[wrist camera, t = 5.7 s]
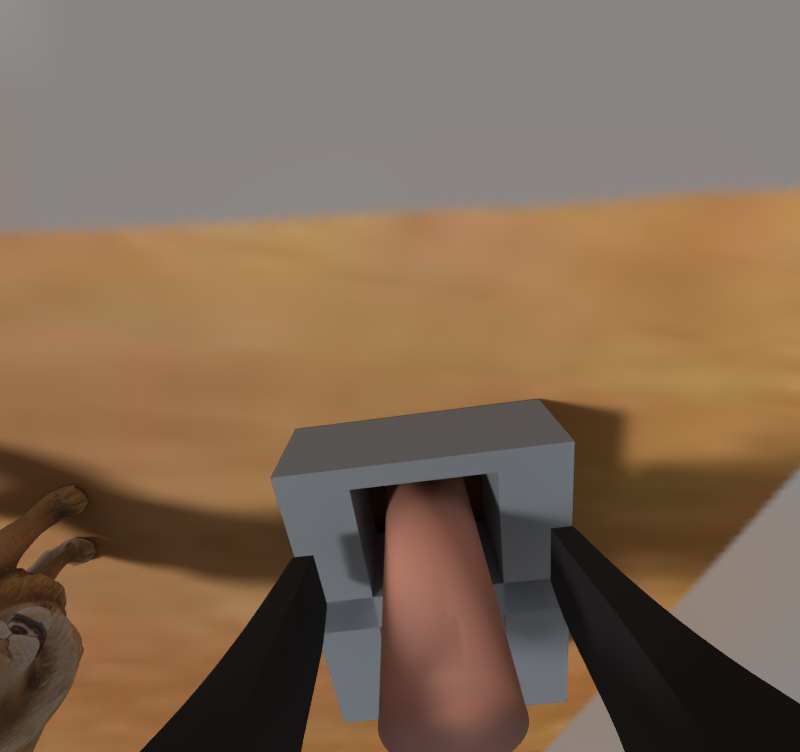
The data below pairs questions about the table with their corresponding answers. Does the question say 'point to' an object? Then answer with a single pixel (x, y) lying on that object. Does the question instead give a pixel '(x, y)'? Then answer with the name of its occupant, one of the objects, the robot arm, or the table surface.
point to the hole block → (500, 532)
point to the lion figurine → (37, 622)
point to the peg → (443, 630)
